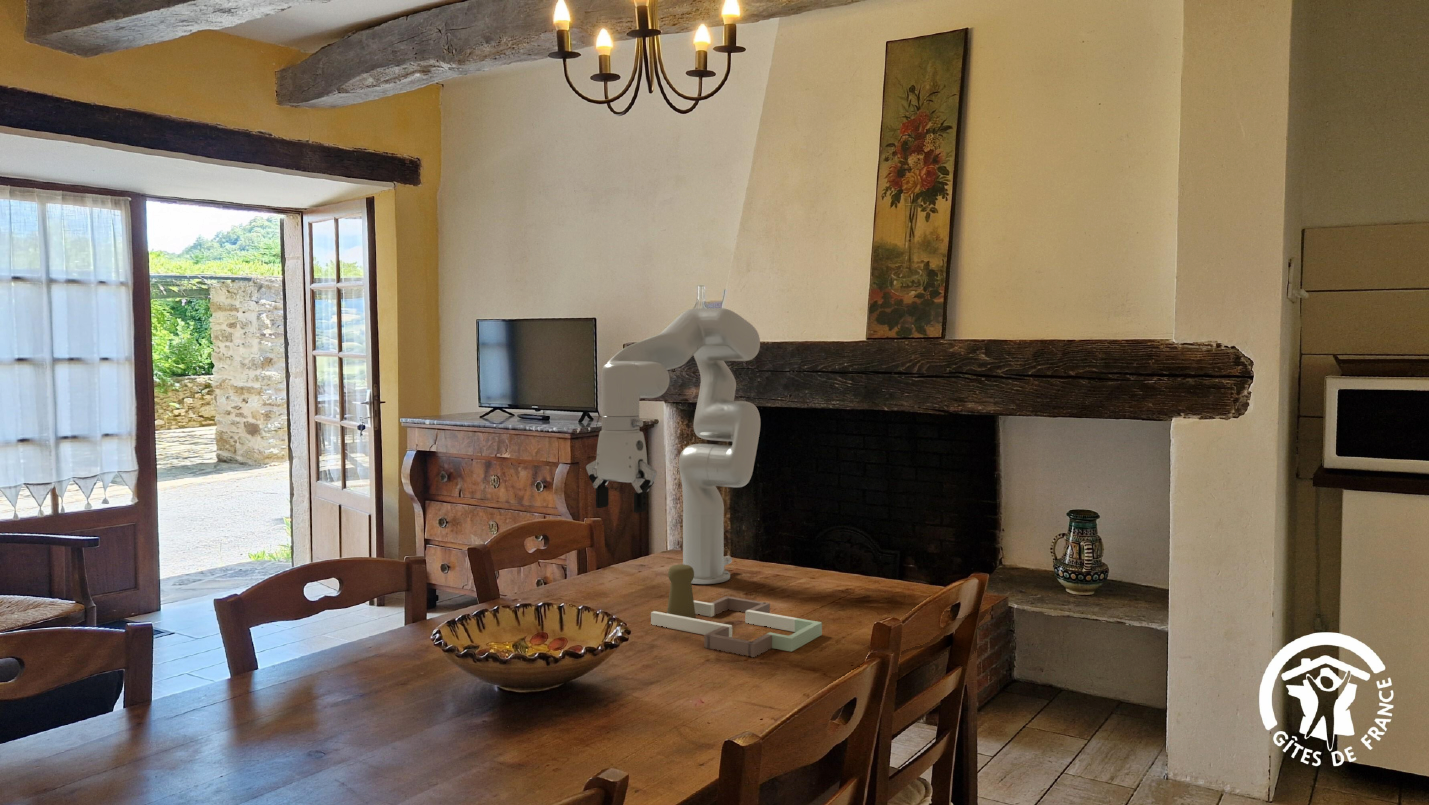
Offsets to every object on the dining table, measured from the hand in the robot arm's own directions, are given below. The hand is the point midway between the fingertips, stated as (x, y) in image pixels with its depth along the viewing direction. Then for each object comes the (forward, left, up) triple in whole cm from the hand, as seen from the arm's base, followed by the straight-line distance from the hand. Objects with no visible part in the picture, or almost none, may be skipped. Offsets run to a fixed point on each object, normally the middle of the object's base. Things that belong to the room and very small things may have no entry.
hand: (620, 509), depth 198 cm
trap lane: (-5, +23, -22) cm, 32 cm away
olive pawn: (-5, +11, -22) cm, 25 cm away
